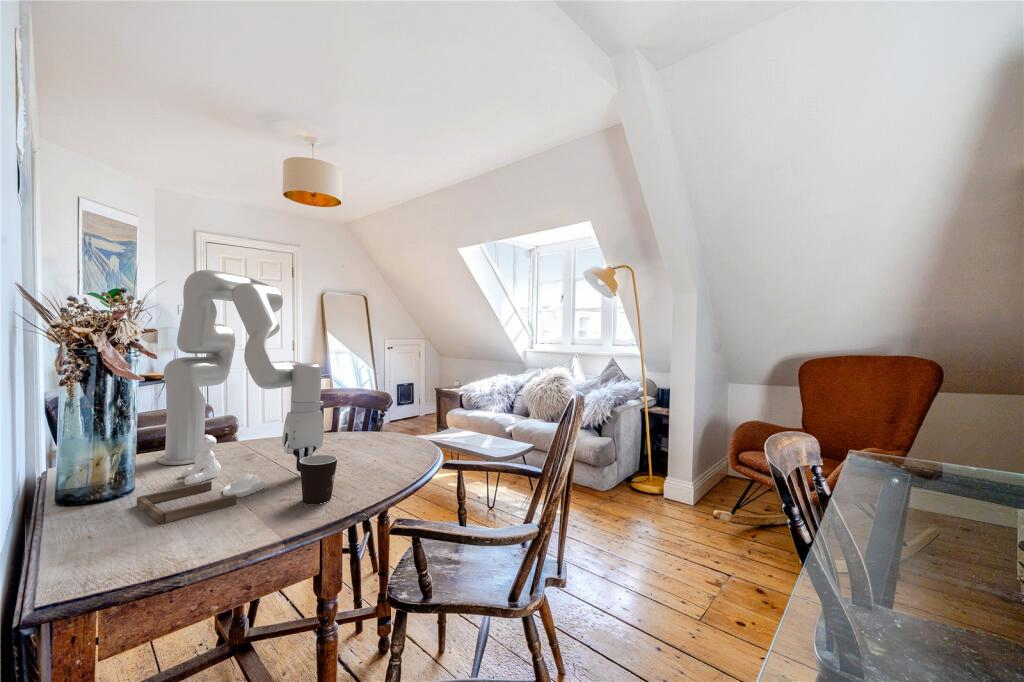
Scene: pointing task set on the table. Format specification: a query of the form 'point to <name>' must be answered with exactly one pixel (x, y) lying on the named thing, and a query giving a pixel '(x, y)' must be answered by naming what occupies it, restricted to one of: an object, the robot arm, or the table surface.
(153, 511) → the walnut bay
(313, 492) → the coffee mug
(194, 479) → the seated beast figurine
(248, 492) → the rose
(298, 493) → the table surface
